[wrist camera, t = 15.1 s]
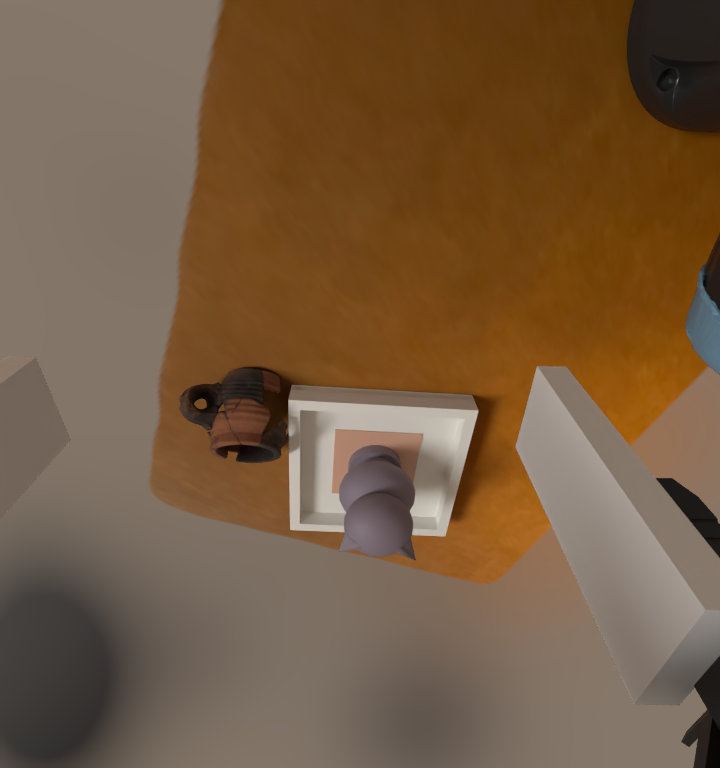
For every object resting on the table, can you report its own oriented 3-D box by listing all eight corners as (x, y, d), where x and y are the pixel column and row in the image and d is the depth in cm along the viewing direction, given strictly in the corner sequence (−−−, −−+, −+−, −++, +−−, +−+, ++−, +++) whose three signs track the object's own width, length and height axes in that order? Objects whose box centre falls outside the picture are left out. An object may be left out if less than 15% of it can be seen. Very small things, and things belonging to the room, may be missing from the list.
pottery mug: (308, 377, 48) (303, 449, 44) (275, 407, 55) (268, 471, 51) (196, 346, 42) (179, 425, 39) (175, 383, 50) (159, 453, 46)
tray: (472, 394, 49) (478, 410, 46) (441, 518, 59) (445, 536, 57) (291, 384, 48) (288, 400, 45) (293, 511, 58) (290, 529, 56)
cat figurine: (418, 445, 51) (434, 528, 41) (402, 492, 55) (412, 579, 45) (345, 434, 50) (343, 516, 40) (335, 483, 54) (330, 570, 44)
